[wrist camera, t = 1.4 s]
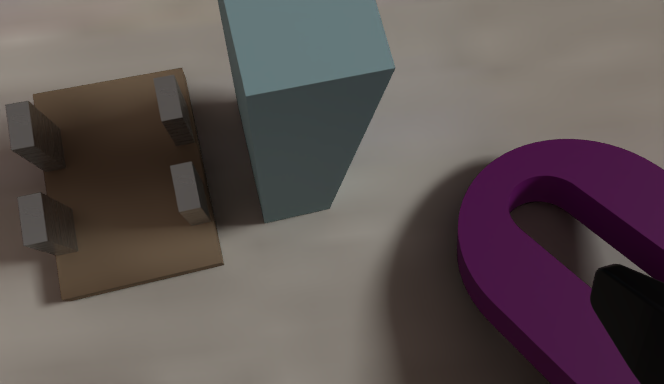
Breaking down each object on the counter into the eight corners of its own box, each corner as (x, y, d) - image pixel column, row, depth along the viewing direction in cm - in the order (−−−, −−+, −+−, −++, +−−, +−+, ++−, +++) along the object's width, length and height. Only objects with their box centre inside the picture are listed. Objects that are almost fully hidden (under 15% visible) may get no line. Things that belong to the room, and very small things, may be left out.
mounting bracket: (419, 298, 30) (739, 645, 20) (411, 222, 23) (895, 695, 13) (539, 202, 32) (883, 474, 22) (566, 105, 25) (1085, 439, 15)
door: (329, 208, 24) (394, 67, 10) (264, 223, 24) (246, 96, 10) (297, 83, 25) (319, -188, 12) (235, 94, 25) (184, -173, 11)
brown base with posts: (224, 264, 23) (213, 254, 19) (71, 300, 22) (26, 297, 18) (185, 77, 25) (168, 33, 21) (42, 103, 24) (-3, 61, 20)
